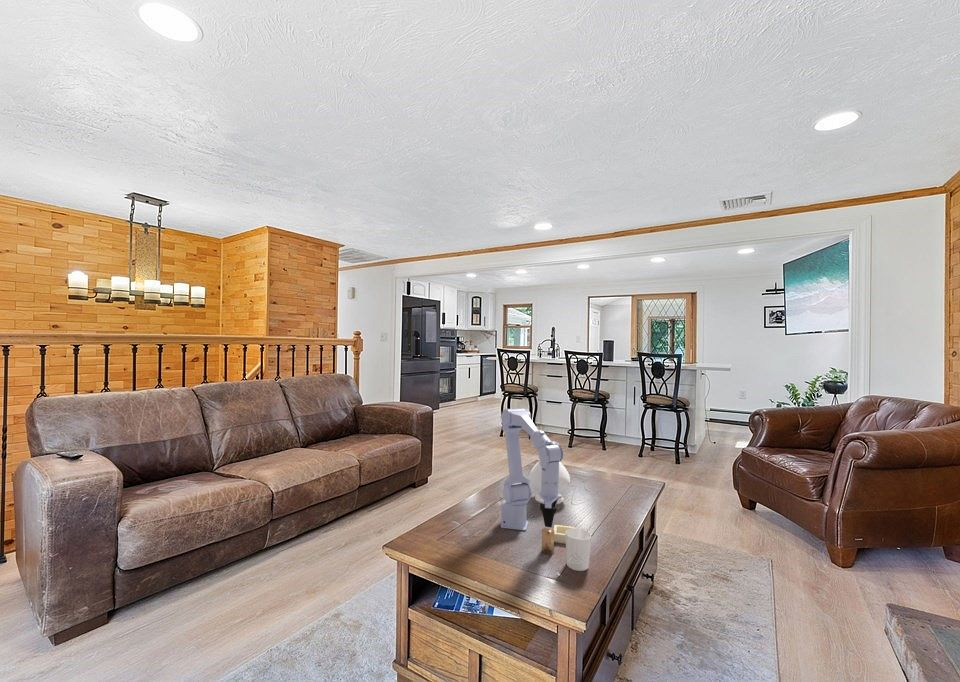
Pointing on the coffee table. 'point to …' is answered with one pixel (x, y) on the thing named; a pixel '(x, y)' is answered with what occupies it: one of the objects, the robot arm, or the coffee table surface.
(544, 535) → the brown cylinder
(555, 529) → the cream square tray
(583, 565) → the white cup
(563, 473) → the decorative vase
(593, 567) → the coffee table surface
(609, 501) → the coffee table surface
